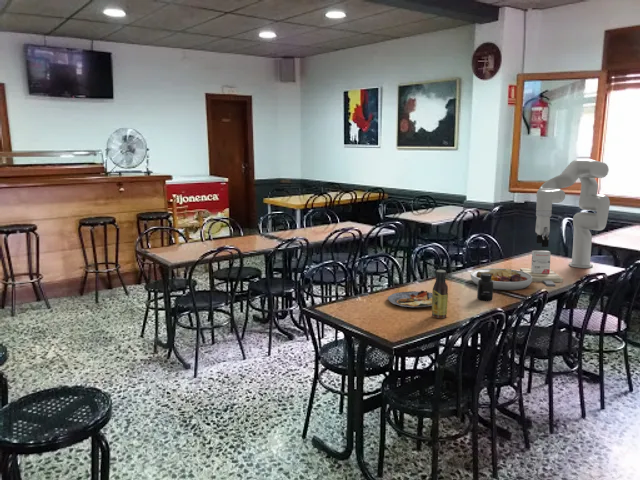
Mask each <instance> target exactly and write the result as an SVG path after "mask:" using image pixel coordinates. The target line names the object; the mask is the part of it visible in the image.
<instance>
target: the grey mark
mask: <svg viewBox="0 0 640 480" xmlns="http://www.w3.org/2000/svg"><path fill="white" fill-rule="evenodd" d="M544 285H545V286H546V287H556V282H545V284H544Z"/></svg>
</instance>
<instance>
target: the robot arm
mask: <svg viewBox="0 0 640 480" xmlns="http://www.w3.org/2000/svg"><path fill="white" fill-rule="evenodd" d="M608 173H609V166H608V164H607V163H605V162H604V161H599V160H595V159H574V160H572V161H571V162H570V163H569V164H568V165H567V166H566V167H565V169H564V170H563V171H562V172H561V173H560V174H559V175H556V176H554V177H552V178H549V179H548V180H546V181H545V182H544V183H543V184H541V186H540V187H539V188H538V190H537V191H536V207H535V208H536V209H535V211H536V212H535V216H536V221H535V231H534V232H535V233H536V244H541V247H542V248H548V247H549V243H550V242H549V241H550V237H549V236H550V232H551V231H550V230H551V221H550V219H551V217H552V213H553V212H552V210H553V209H552V208H553V204H560V203H562V202H563V201H565V198H566V193H565V191H564V190H563V189H565V188H568V187H571V186H573V185H574V184H575V183H576V182H577V181H578V179H579V181H580V185H581V186H580V194H579V200H578V208H579V209H581V210H584V211H581V212H576V213H575V214H574V215H573V216H572V217H573V218H572V224H573V225H572V226H573V227H572V228H573V237H572V238H573V242H572V255H571V261H570V262H569V263H568V266H569V267H573V268H579V269H590V268H593V267H594V266H593V263H591V254H592V244H593V243H592V241H593V235H592V233H591V231H590V230H593V231H598V232H599V231H603V230H605V228H606V226H607V222H608V218H609V211H610V205H611V203H610V202H611V201H610V198H609V196H608V195H606V194H601V193H598V189H599V184H598V181H597V180H596V179H603V178H606V177H607V175H608ZM585 211H590V212H585ZM591 211H593V212H591ZM594 212H596V213H594Z"/></svg>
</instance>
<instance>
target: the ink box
mask: <svg viewBox="0 0 640 480" xmlns="http://www.w3.org/2000/svg"><path fill="white" fill-rule="evenodd" d="M551 257H552V256H551V251H549V250H531V267H530V268H531V272H533V273H546V274H549V273H550V269H551Z"/></svg>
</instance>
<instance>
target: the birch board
mask: <svg viewBox="0 0 640 480" xmlns="http://www.w3.org/2000/svg"><path fill="white" fill-rule="evenodd" d="M519 271H522V272H525V273H528V274H530V275H531V276H532V282H531V283H534V282H535V283H536V282H538V283H539V282H541V283H543V280H551V281H552V282H554V283H563V282H564V278H563V277H562V276H560V275H559V274H558V273H556V272H555V271H554V270H552V269H551V268H550V273H549V274H546V273H533V272H531V267H530V268H528V267H527V268H525V267H520V269H519Z"/></svg>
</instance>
